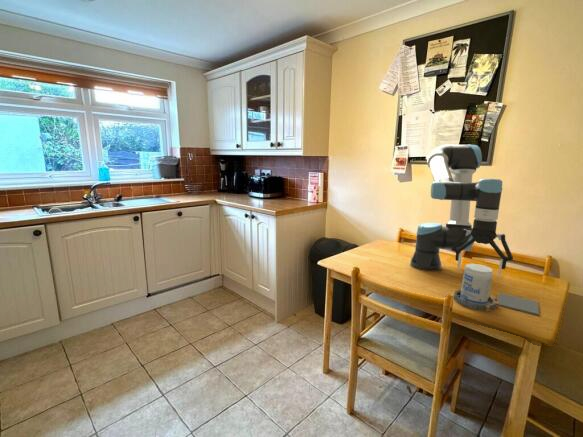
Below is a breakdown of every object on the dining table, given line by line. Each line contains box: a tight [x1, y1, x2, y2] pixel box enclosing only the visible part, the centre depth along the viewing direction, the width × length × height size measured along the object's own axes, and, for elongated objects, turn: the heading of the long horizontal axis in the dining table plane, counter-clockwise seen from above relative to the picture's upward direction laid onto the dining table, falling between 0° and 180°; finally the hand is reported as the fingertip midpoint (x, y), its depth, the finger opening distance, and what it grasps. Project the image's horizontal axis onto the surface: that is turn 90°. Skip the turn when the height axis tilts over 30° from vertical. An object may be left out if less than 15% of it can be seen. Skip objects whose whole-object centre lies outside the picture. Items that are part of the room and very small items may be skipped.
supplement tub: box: [459, 263, 494, 305], centre depth 118 cm, size 10×10×15 cm
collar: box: [453, 289, 499, 313], centre depth 119 cm, size 15×14×2 cm
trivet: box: [496, 292, 540, 317], centre depth 118 cm, size 13×13×1 cm
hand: (478, 272), depth 117 cm, fingers open, 13 cm apart
